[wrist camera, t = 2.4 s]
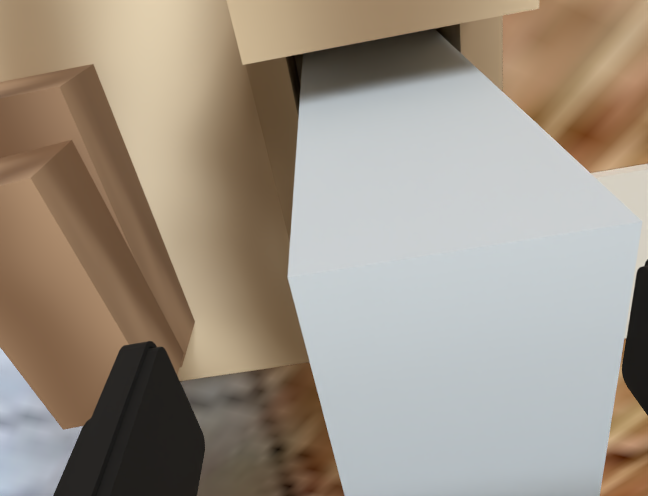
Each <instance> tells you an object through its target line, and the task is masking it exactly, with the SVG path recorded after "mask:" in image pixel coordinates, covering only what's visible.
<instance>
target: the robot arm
mask: <svg viewBox="0 0 648 496" xmlns="http://www.w3.org/2000/svg"><path fill="white" fill-rule="evenodd" d="M622 374H623V378H624V381H625V383H626V385H627V387H628V388H629V390H630V391H631V393H632V394H633V395H634V397H635V398H636V400H637V401H638V402H639V404H640V405H641V407H642V408H643V409H644V411H645V412H646V414H647V415H648V259H647V261H646V262H645V265H644V266H642V267H639V269H638V270H637V274H636V280H635V286H634V293H633V299H632V306H631V312H630V319H629V325H628V332H627V338H626V345H625V351H624V358H623V364H622ZM204 451H205V442H204V436H203V433H202V430H201V428H200V426H199V424H198V421H197V419H196V417H195V415H194V412H193V410H192V408H191V406H190V403H189V401H188V399H187V397H186V394H185V392H184V390H183V388H182V385H181V383H180V381H179V379H178V376H177V374H176V372H175V369H174V367H173V365H172V363H171V360H170V358H169V356H168V354H167V351H166V350H165V348H164V347H157V346H156V344H155V343H154V342H153V341H147V342H141V343H135V344H129V345H124V346H122V347H121V349H120V350H119V353H118V355H117V357H116V360H115V362H114V365H113V367H112V369H111V372H110V374H109V376H108V379H107V381H106V384H105V386H104V388H103V391H102V393H101V395H100V398H99V400H98V403H97V405H96V407H95V410H94V412H93V415H92V417H91V418H90V419H89V420H88V421H87V422H86V423H85V425H84V426H83V428H82V430H81V432H80V435H79V437H78V439H77V442H76V444H75V446H74V449H73V451H72V453H71V456H70V458H69V460H68V463H67V465H66V467H65V470H64V472H63V474H62V477H61V479H60V481H59V484H58V486H57V488H56V491H55V493H54V495H53V496H197V491H198V486H199V480H200V474H201V469H202V463H203V458H204Z"/></svg>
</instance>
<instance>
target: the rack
mask: <svg viewBox="0 0 648 496" xmlns="http://www.w3.org/2000/svg"><path fill="white" fill-rule="evenodd" d="M534 9H539V0H0V82H3V81H8V80H13V79H19V78H24V77H29V76H34V75H39V74H44V73H49V72H55V71H60V70H65V69H70V68H75V67H80V66H85V65H90V64H94V67H95V69H96V72H97V74H98V77H99V79H100V82H101V85H102V87H103V90H104V92H105V95H106V97H107V100H108V102H109V105H110V107H111V110H112V112H113V115H114V117H115V120H116V123H117V125H118V128H119V130H120V133H121V135H122V138H123V140H124V143H125V145H126V148H127V150H128V153H129V156H130V158H131V161H132V163H133V166H134V168H135V171H136V173H137V176H138V178H139V181H140V183H141V186H142V188H143V191H144V194H145V196H146V199H147V201H148V204H149V206H150V209H151V211H152V214H153V216H154V219H155V221H156V224H157V226H158V229H159V232H160V234H161V237H162V239H163V242H164V244H165V247H166V249H167V252H168V254H169V257H170V259H171V262H172V264H173V267H174V270H175V272H176V275H177V277H178V280H179V282H180V285H181V287H182V290H183V292H184V295H185V297H186V300H187V302H188V305H189V308H190V310H191V313H192V315H193V318H194V320H195V324H194V327H193V331H192V334H191V337H190V341H189V344H188V348H187V351H186V355H185V358H184V362H183V365H182V367H180V368H179V371H178V374H177V376H178V379H179V381H184V380H191V379H198V378H205V377H212V376H218V375H225V374H232V373H239V372H246V371H253V370H260V369H267V368H274V367H281V366H288V365H294V364H301V363H308V362H310V361H309V357H308V354H307V350H306V346H305V342H304V338H303V335H302V331H301V327H300V323H299V319H298V315H297V312H296V308H295V304H294V300H293V296H292V292H291V289H290V285H289V281H288V264H289V249H290V235H291V220H292V206H293V191H294V177H295V162H296V148H297V133H298V119H299V104H300V89H301V75H302V60H303V53H308V52H313V51H319V50H324V49H329V48H334V47H340V46H345V45H350V44H355V43H361V42H366V41H371V40H377V39H382V38H387V37H392V36H398V35H403V34H408V33H413V32H419V31H424V30H429V29H435V30H436V31H437V32H438V33H440V34H441V35H442V36H443V37H444V38H445V39H446V40H447V41H448V42H449V43H450V44H451V45H452V46H454V47H455V48H456V49H457V50H458V51H459V52H460V53H461V54H462V55H463V56H464V57H465V58H467V59H468V60H469V61H470V62H471V63H472V64H473V65H474V66H475V67H476V68H477V69H478V70H479V71H481V72H482V73H483V74H484V75H485V76H486V77H487V78H488V79H489V80H490V81H491V82H492V83H494V84H495V85H496V86H497V87H498V88H499V89H500V90H501V91H502V92H503V15H508V14H513V13H518V12H524V11H529V10H534Z"/></svg>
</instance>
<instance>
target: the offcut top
mask: <svg viewBox="0 0 648 496" xmlns="http://www.w3.org/2000/svg"><path fill="white" fill-rule="evenodd" d="M147 341H153V342H154V343H155V344H156V346H157V347H164V348H165V350H166V351H167V354H168V356H169V358H170V360H171V363H172V365H173V367H174V369H175V372H176V374H178V371H179V368H180V364H181V361H182V357H183V354H184V352H183V350H182V348H181V347H180V345H179V343H178V341H177V339H176V337H175V335H174V333H173V331H172V329H171V328H170V326H169V324H168V322H167V320H166V318H165V316H164V314H163V312H162V310H161V309H160V307H159V305H158V303H157V301H156V299H155V297H154V295H153V293H152V291H151V289H150V288H149V286H148V284H147V282H146V280H145V278H144V276H143V274H142V272H141V270H140V269H139V267H138V265H137V263H136V261H135V259H134V257H133V255H132V253H131V251H130V249H129V248H128V246H127V244H126V242H125V240H124V238H123V236H122V234H121V232H120V230H119V229H118V227H117V225H116V223H115V221H114V219H113V217H112V215H111V213H110V211H109V210H108V208H107V206H106V204H105V202H104V200H103V198H102V196H101V194H100V192H99V190H98V189H97V187H96V185H95V183H94V181H93V179H92V177H91V175H90V173H89V171H88V170H87V168H86V166H85V164H84V162H83V160H82V158H81V156H80V154H79V152H78V150H77V149H76V147H75V145H74V143H73V141H72V140H69V141H65V142H61V143H57V144H53V145H49V146H46V147H42V148H38V149H34V150H30V151H27V152H23V153H19V154H15V155H11V156H7V157H4V158H0V347H1V349H2V350H3V351H4V353H5V354H6V355H7V357H8V358H9V359H10V361H11V362H12V363H13V364H14V366H15V367H16V368H17V370H18V371H19V372H20V374H21V375H22V376H23V378H24V379H25V380H26V381H27V383H28V384H29V385H30V387H31V388H32V389H33V391H34V392H35V393H36V395H37V396H38V397H39V398H40V400H41V401H42V402H43V404H44V405H45V406H46V408H47V409H48V410H49V412H50V413H51V414H52V416H53V417H54V418H55V419H56V421H57V422H58V423H59V425H60V426H61V427H62V429H69V428H74V427H79V426H84V425H85V423H86V422H87V421H88V420H89V419H90V418H91V417H92V415H93V412H94V410H95V407H96V405H97V403H98V400H99V398H100V395H101V393H102V391H103V388H104V386H105V384H106V381H107V379H108V376H109V374H110V372H111V369H112V367H113V365H114V362H115V360H116V357H117V355H118V353H119V350H120V349H121V347H122V346H124V345H129V344H135V343H141V342H147Z"/></svg>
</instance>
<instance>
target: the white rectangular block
mask: <svg viewBox="0 0 648 496" xmlns="http://www.w3.org/2000/svg"><path fill="white" fill-rule="evenodd" d="M641 228H642V221H641V220H640V219H639V218H638V217H637V216H636V215H635V214H634V213H633V212H632V211H631V210H630V209H628V208H627V207H626V206H625V205H624V204H623V203H622V202H621V201H620V200H619V199H618V198H617V197H616V196H614V195H613V194H612V193H611V192H610V191H609V190H608V189H607V188H606V187H605V186H604V185H603V184H601V183H600V182H599V181H598V180H597V179H596V178H595V177H594V176H593V175H592V174H591V173H590V172H589V171H587V170H586V169H585V168H584V167H583V166H582V165H581V164H580V163H579V162H578V161H577V160H576V159H574V158H573V157H572V156H571V155H570V154H569V153H568V152H567V151H566V150H565V149H564V148H563V147H562V146H560V145H559V144H558V143H557V142H556V141H555V140H554V139H553V138H552V137H551V136H550V135H549V134H547V133H546V132H545V131H544V130H543V129H542V128H541V127H540V126H539V125H538V124H537V123H536V122H535V121H533V120H532V119H531V118H530V117H529V116H528V115H527V114H526V113H525V112H524V111H523V110H522V109H520V108H519V107H518V106H517V105H516V104H515V103H514V102H513V101H512V100H511V99H510V98H509V97H508V96H506V95H505V94H504V93H503V92H502V91H501V90H500V89H499V88H498V87H497V86H496V85H495V84H494V83H492V82H491V81H490V80H489V79H488V78H487V77H486V76H485V75H484V74H483V73H482V72H481V71H479V70H478V69H477V68H476V67H475V66H474V65H473V64H472V63H471V62H470V61H469V60H468V59H467V58H465V57H464V56H463V55H462V54H461V53H460V52H459V51H458V50H457V49H456V48H455V47H454V46H452V45H451V44H450V43H449V42H448V41H447V40H446V39H445V38H444V37H443V36H442V35H441V34H440V33H438V32H437V31H436V30H435V29H429V30H424V31H419V32H413V33H408V34H403V35H398V36H392V37H387V38H382V39H377V40H371V41H366V42H361V43H355V44H350V45H345V46H340V47H334V48H329V49H324V50H319V51H313V52H308V53H303V60H302V75H301V89H300V104H299V119H298V133H297V148H296V162H295V177H294V191H293V206H292V220H291V235H290V249H289V264H288V281H289V285H290V289H291V292H292V296H293V300H294V304H295V308H296V312H297V315H298V319H299V323H300V327H301V331H302V335H303V338H304V342H305V346H306V350H307V354H308V357H309V361H310V365H311V369H312V373H313V377H314V380H315V384H316V388H317V392H318V396H319V399H320V403H321V407H322V411H323V415H324V419H325V422H326V426H327V430H328V434H329V438H330V441H331V445H332V449H333V453H334V457H335V461H336V464H337V468H338V472H339V476H340V480H341V483H342V487H343V491H344V495H345V496H600V490H601V483H602V477H603V471H604V464H605V458H606V451H607V445H608V439H609V432H610V426H611V419H612V413H613V407H614V400H615V394H616V387H617V381H618V375H619V368H620V362H621V355H622V349H623V343H624V336H625V330H626V324H627V317H628V311H629V304H630V298H631V292H632V285H633V279H634V272H635V266H636V260H637V253H638V247H639V240H640V234H641Z"/></svg>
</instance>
